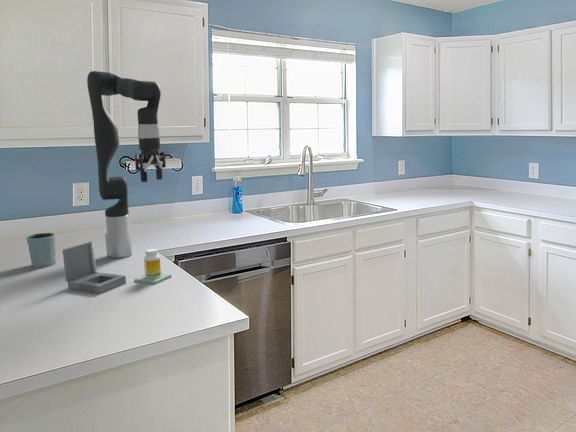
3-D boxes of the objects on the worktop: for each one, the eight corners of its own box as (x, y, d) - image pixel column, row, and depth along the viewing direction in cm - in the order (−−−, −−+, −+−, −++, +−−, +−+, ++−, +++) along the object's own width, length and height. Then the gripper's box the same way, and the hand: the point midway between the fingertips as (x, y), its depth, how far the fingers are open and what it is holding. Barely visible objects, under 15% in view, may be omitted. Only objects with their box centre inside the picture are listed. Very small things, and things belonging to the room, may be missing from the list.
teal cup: (59, 260, 202) (56, 231, 200) (56, 266, 193) (53, 236, 191) (31, 263, 199) (28, 234, 197) (27, 269, 190) (24, 239, 188)
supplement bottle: (142, 276, 174) (140, 250, 173) (155, 273, 178) (154, 247, 177) (150, 279, 171) (148, 252, 169) (164, 276, 175) (162, 249, 173)
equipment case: (66, 288, 166) (62, 249, 163) (93, 278, 176) (90, 241, 174) (100, 293, 160) (96, 253, 157) (126, 282, 170) (122, 244, 168)
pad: (134, 281, 172) (134, 279, 172) (151, 274, 180) (151, 272, 180) (155, 284, 168) (155, 281, 168) (171, 276, 177) (171, 274, 176)
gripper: (153, 136, 190) (156, 178, 193) (127, 137, 177) (131, 182, 180) (169, 136, 187) (172, 179, 190) (144, 137, 174) (147, 183, 177)
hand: (152, 180), depth 185 cm, fingers open, 8 cm apart
